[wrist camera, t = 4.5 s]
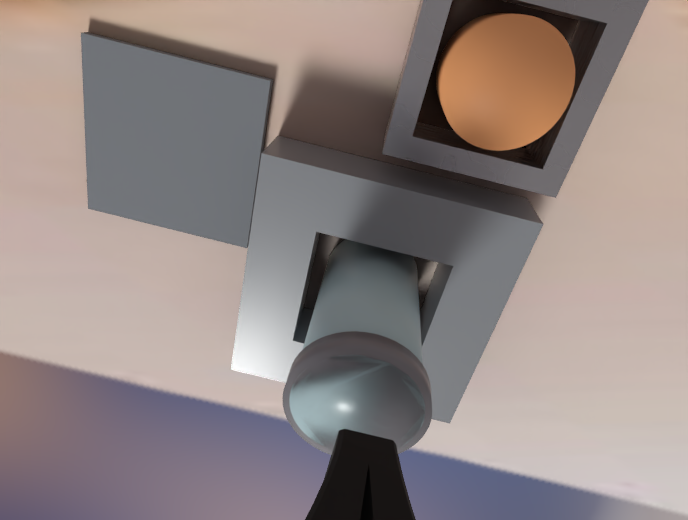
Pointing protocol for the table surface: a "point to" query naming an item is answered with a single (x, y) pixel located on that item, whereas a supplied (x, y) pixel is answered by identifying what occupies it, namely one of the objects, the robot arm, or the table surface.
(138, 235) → the table surface
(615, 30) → the button housing
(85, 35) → the slate mat
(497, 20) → the release button
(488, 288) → the socket block
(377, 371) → the cylinder
